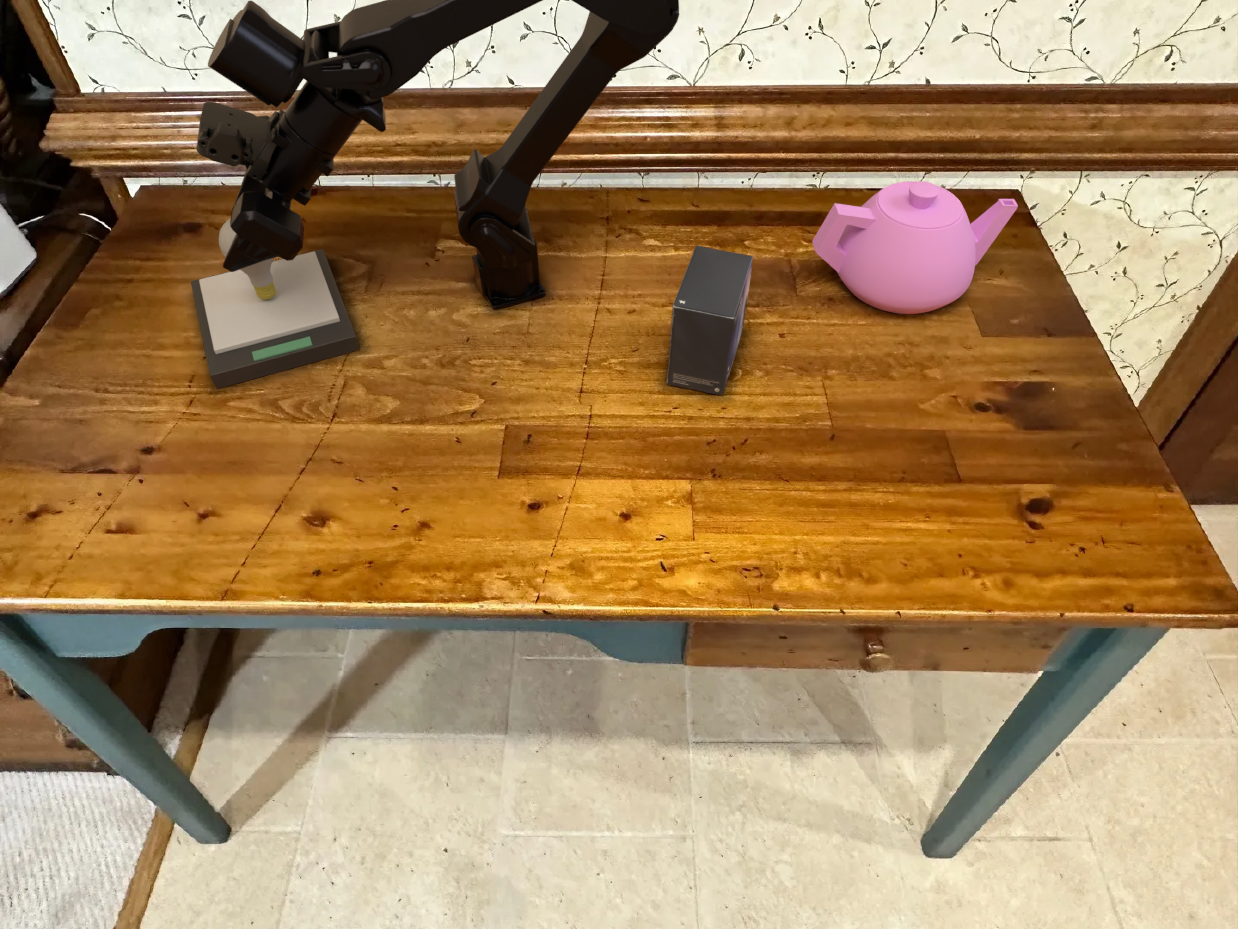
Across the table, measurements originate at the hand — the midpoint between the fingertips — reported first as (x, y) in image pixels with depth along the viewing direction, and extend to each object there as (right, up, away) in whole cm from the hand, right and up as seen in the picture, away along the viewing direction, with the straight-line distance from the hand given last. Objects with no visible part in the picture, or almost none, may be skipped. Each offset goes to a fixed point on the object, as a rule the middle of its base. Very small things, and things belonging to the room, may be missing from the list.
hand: (231, 242), depth 91 cm
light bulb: (+1, -5, +6) cm, 8 cm away
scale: (+1, -6, +8) cm, 10 cm away
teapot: (+73, -1, +12) cm, 74 cm away
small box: (+49, -12, +3) cm, 51 cm away
